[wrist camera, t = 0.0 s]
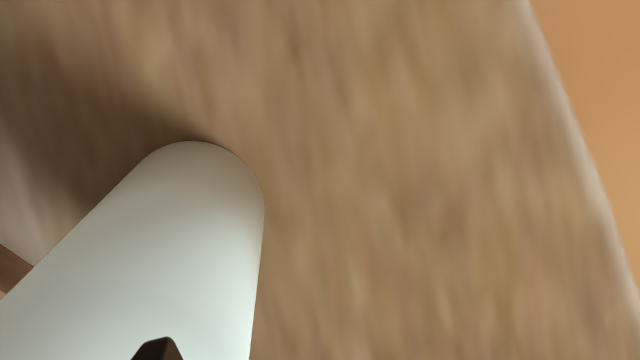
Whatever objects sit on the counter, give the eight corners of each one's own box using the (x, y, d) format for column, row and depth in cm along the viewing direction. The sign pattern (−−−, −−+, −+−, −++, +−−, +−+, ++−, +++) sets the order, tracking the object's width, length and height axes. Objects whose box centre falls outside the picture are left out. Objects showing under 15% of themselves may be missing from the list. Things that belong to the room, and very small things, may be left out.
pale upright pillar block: (230, 294, 26) (177, 556, 13) (102, 241, 25) (-87, 471, 12) (288, 177, 24) (289, 347, 12) (155, 116, 23) (3, 231, 11)
